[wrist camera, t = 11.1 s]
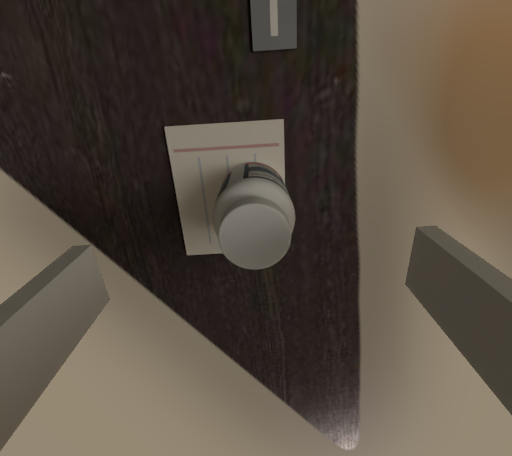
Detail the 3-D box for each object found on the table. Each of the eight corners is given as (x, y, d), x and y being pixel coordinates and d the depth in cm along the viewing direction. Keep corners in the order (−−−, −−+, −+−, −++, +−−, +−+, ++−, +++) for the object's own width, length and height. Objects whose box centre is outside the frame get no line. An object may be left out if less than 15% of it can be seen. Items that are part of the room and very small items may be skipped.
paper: (165, 126, 22) (163, 126, 21) (283, 119, 22) (283, 119, 21) (187, 253, 26) (186, 255, 26) (285, 247, 26) (286, 249, 25)
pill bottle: (241, 232, 25) (234, 294, 17) (209, 180, 23) (184, 220, 15) (296, 205, 24) (317, 256, 16) (268, 148, 22) (276, 173, 14)
